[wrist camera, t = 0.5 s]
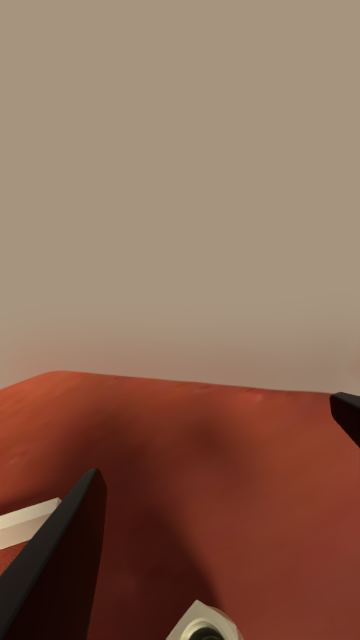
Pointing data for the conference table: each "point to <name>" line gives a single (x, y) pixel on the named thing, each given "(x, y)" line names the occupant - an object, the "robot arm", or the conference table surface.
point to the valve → (205, 625)
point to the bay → (24, 522)
